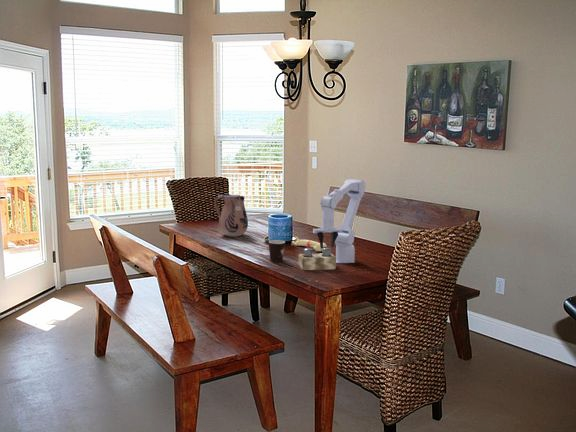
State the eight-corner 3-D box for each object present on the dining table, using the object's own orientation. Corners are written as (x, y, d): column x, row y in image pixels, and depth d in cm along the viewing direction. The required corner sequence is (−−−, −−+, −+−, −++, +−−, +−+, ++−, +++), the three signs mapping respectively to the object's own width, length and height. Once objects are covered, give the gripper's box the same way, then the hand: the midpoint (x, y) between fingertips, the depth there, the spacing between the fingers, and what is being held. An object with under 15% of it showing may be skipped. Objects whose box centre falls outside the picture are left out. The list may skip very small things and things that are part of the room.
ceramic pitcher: (246, 238, 357) (247, 198, 353) (211, 237, 358) (212, 197, 353) (248, 233, 375) (249, 194, 370) (215, 232, 375) (216, 193, 371)
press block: (330, 264, 302) (331, 253, 301) (335, 269, 294) (336, 257, 293) (298, 265, 299) (298, 253, 298) (302, 270, 290) (302, 258, 289)
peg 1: (311, 258, 297) (311, 248, 296) (313, 260, 293) (313, 250, 292) (302, 259, 296) (303, 248, 295) (304, 261, 292) (305, 250, 291)
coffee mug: (274, 263, 301) (274, 244, 300) (264, 259, 308) (265, 241, 307) (292, 260, 308) (293, 242, 307) (283, 257, 315) (283, 238, 313)
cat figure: (288, 248, 342) (320, 253, 324) (288, 233, 341) (319, 237, 323) (300, 246, 349) (332, 250, 331) (300, 231, 348) (331, 235, 330)
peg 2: (329, 258, 299) (329, 247, 298) (331, 260, 295) (332, 249, 294) (321, 258, 298) (321, 247, 297) (323, 260, 294) (323, 249, 293)
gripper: (315, 221, 288) (314, 249, 290) (344, 221, 291) (343, 248, 293) (312, 219, 295) (311, 245, 297) (340, 219, 298) (338, 245, 300)
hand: (326, 246), depth 295 cm, fingers open, 5 cm apart
